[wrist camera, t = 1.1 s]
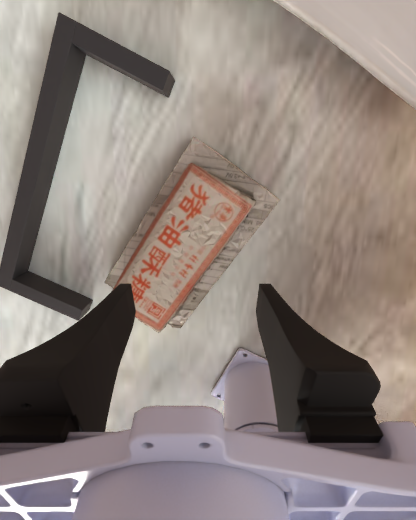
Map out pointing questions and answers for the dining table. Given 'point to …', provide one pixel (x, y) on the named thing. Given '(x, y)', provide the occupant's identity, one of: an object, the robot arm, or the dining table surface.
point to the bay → (48, 148)
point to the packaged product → (190, 235)
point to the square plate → (369, 36)
